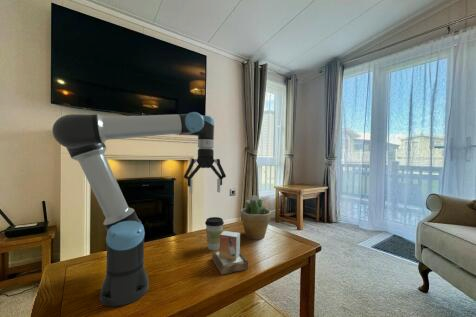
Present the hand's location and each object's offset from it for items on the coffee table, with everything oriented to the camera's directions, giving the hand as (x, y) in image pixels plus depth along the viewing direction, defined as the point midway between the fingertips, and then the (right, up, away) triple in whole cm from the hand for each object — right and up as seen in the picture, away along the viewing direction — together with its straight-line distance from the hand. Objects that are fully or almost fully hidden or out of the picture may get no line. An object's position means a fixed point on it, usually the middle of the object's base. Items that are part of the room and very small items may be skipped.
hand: (205, 192), depth 100 cm
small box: (+12, -28, -6) cm, 31 cm away
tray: (+12, -31, -6) cm, 34 cm away
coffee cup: (+3, -31, +10) cm, 32 cm away
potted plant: (+26, -31, +27) cm, 49 cm away
